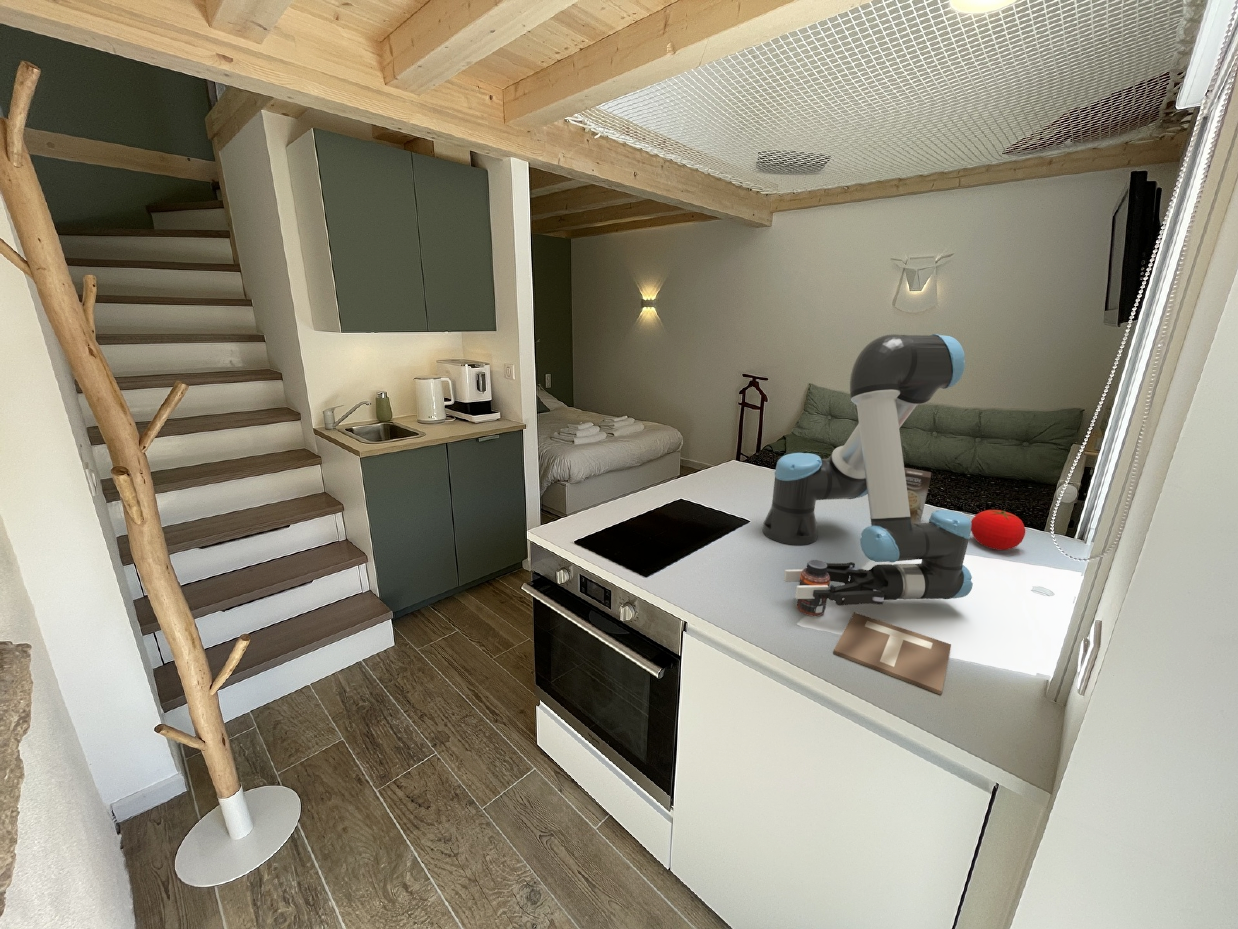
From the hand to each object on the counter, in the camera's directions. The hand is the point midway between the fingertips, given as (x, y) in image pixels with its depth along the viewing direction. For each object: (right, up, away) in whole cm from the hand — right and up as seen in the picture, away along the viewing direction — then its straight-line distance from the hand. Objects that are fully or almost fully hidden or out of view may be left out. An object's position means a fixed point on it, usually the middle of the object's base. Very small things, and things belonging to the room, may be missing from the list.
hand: (790, 583), depth 111 cm
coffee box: (+52, +8, +50) cm, 73 cm away
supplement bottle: (+5, -6, +2) cm, 8 cm away
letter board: (+16, -11, -10) cm, 22 cm away
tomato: (+68, +3, +34) cm, 76 cm away
